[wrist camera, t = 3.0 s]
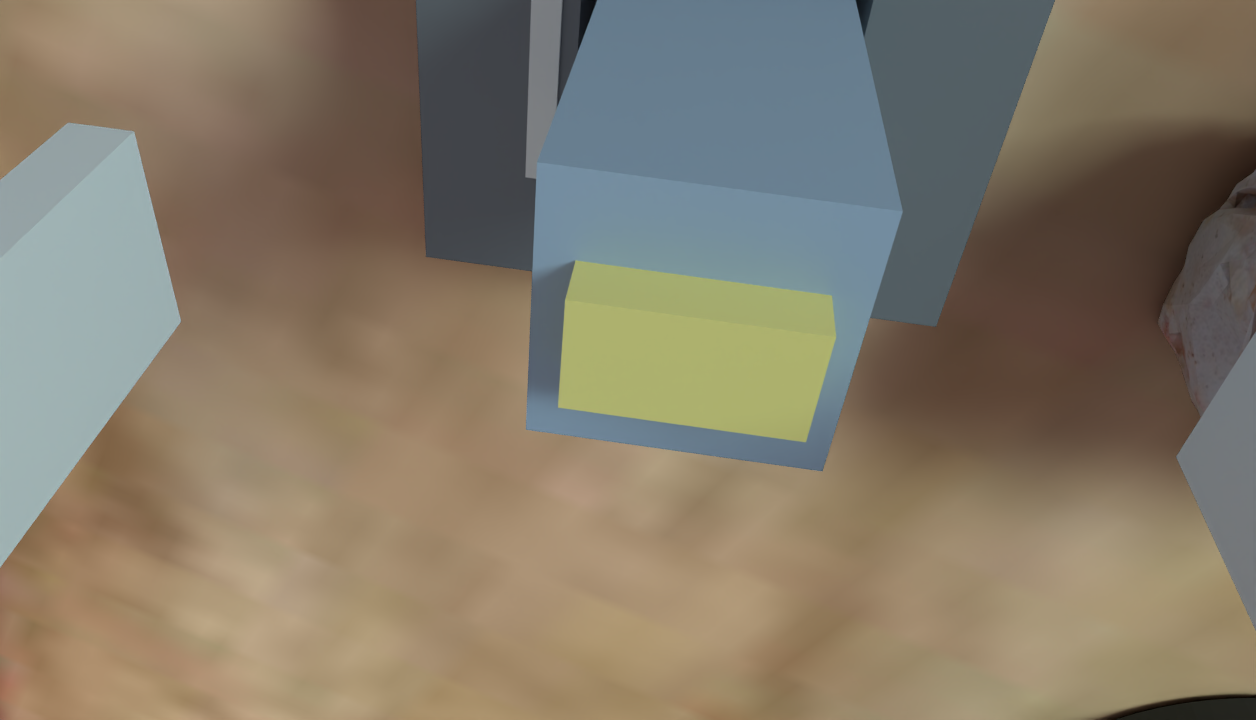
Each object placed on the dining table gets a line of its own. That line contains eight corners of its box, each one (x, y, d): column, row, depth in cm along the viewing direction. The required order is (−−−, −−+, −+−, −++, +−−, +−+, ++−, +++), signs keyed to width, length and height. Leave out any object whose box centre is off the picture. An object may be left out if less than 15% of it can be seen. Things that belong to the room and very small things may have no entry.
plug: (796, 97, 23) (825, 515, 13) (621, 74, 23) (514, 471, 13) (836, -89, 20) (911, 250, 10) (639, -114, 20) (522, 198, 10)
